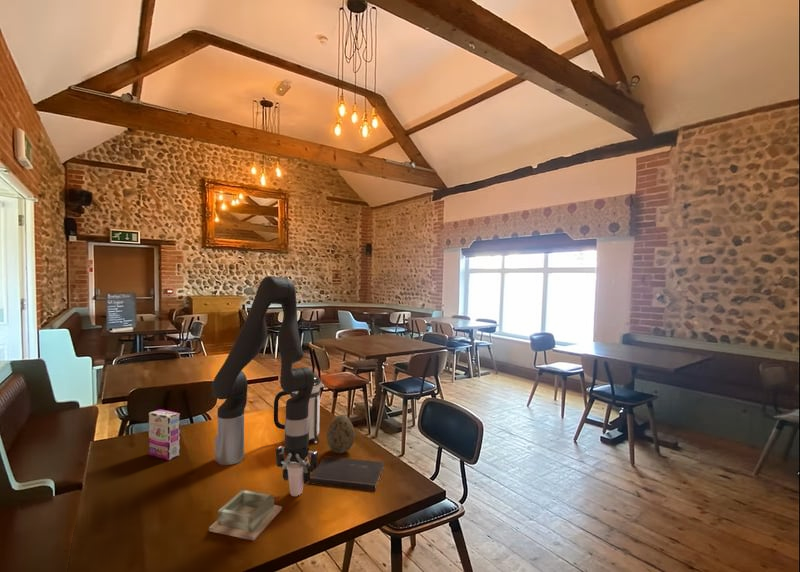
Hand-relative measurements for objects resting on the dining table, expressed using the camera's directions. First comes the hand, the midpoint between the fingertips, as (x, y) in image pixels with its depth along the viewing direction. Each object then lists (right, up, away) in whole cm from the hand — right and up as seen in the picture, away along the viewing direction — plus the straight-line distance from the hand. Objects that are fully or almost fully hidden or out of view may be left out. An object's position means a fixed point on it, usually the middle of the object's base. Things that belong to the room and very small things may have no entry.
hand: (296, 480), depth 127 cm
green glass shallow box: (-11, -4, -14) cm, 18 cm away
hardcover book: (+15, -5, +12) cm, 20 cm away
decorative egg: (+10, -3, +29) cm, 30 cm away
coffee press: (-8, -2, +39) cm, 40 cm away
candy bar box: (-56, -2, +23) cm, 61 cm away
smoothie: (0, -4, 0) cm, 4 cm away
